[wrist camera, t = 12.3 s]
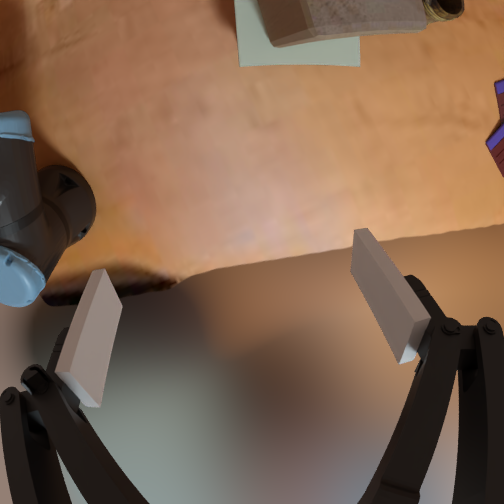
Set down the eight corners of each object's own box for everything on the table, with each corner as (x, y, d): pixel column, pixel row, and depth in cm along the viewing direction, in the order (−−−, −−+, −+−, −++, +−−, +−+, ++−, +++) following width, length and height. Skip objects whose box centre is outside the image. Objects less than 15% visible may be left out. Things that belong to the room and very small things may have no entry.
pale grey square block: (237, 66, 41) (239, 66, 35) (229, -29, 32) (231, -43, 26) (340, 64, 42) (360, 66, 35) (335, -26, 32) (353, -37, 26)
